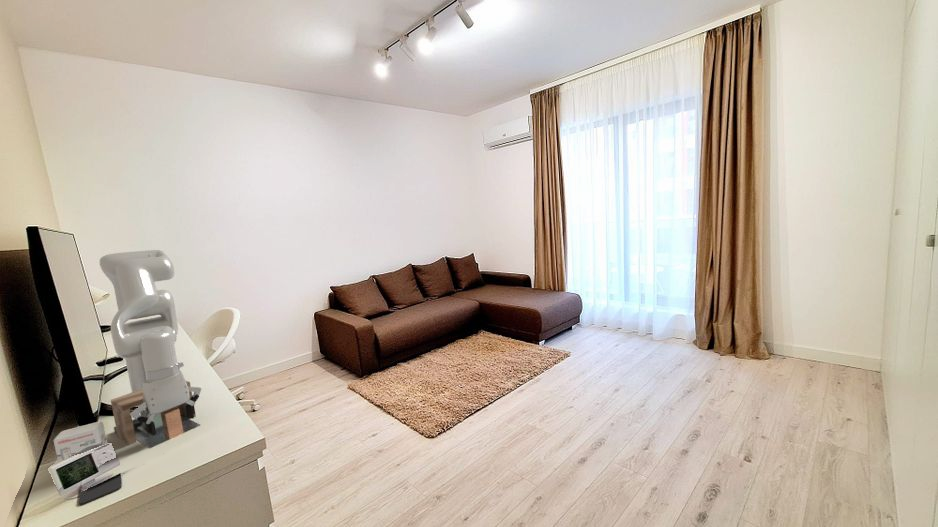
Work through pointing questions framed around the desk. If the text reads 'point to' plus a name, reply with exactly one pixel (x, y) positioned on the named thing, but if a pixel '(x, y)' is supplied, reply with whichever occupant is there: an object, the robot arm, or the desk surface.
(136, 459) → the desk surface
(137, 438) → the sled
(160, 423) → the sage block
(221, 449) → the desk surface
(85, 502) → the phone
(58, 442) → the ink box
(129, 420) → the tunnel
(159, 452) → the desk surface
